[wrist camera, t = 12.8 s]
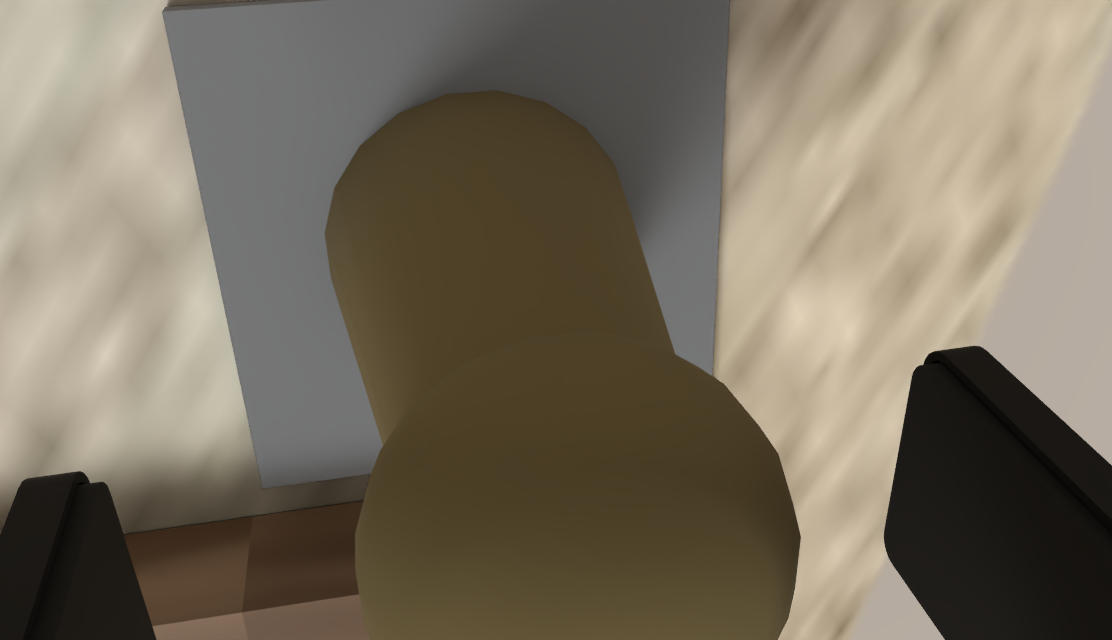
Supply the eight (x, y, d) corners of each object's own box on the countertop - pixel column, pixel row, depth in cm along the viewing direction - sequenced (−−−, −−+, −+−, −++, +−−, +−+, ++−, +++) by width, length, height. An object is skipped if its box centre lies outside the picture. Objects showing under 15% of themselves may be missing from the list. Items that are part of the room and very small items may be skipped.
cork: (492, 421, 22) (610, 907, 13) (259, 263, 20) (185, 727, 10) (689, 220, 21) (987, 595, 11) (467, 20, 18) (612, 291, 9)
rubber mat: (165, 7, 18) (162, 11, 17) (723, -31, 19) (731, -28, 19) (263, 477, 22) (262, 488, 22) (704, 417, 24) (709, 427, 23)
